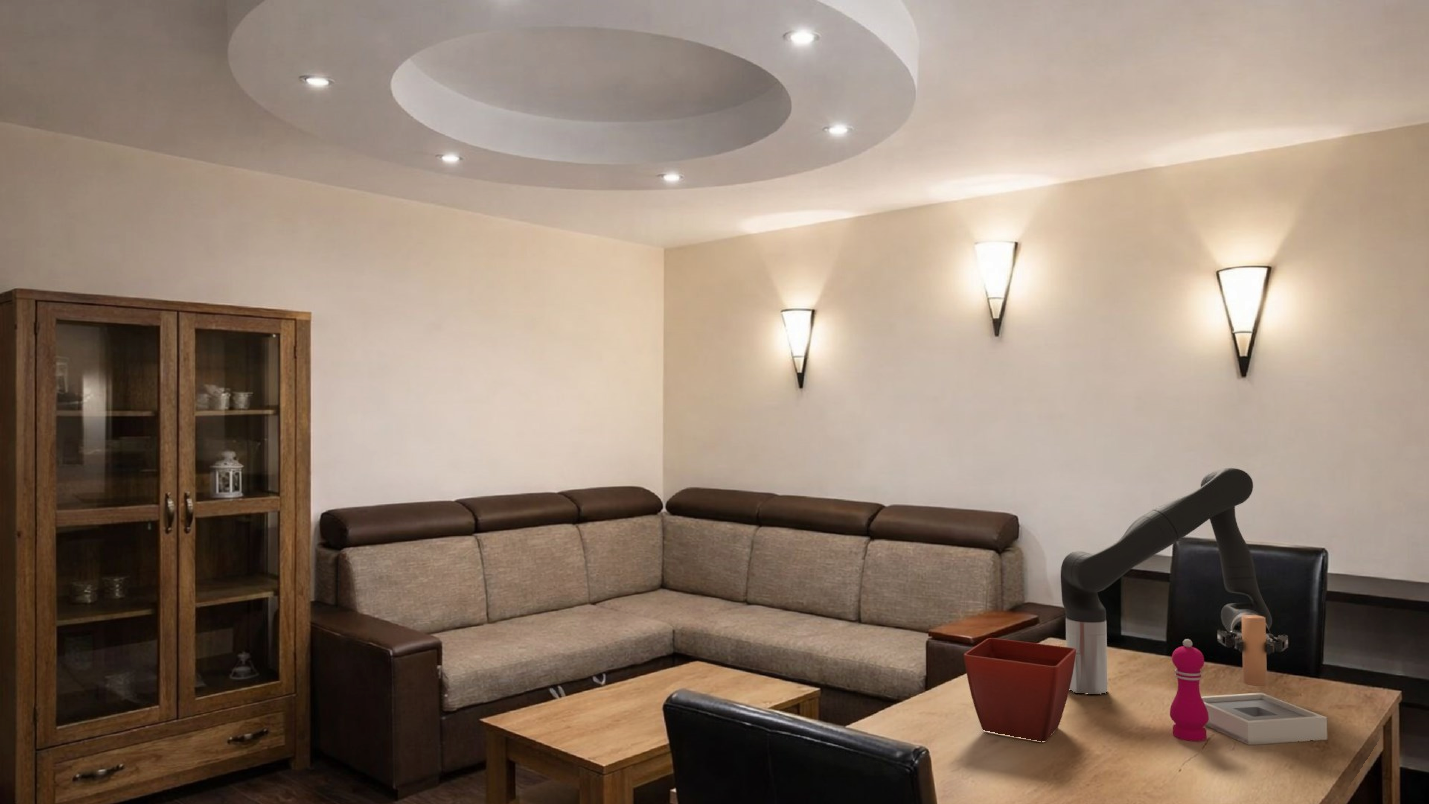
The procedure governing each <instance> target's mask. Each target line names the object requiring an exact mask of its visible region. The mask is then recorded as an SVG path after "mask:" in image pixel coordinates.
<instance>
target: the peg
mask: <svg viewBox="0 0 1429 804" xmlns="http://www.w3.org/2000/svg"><path fill="white" fill-rule="evenodd" d="M1242 640H1243V652H1241V653H1242V683H1243V684H1246V685H1249V686H1252V687H1253V686H1255V687H1266V686H1268V675H1267V672H1268V671H1267V664H1268V663H1267V654H1266V623H1265V617H1262V616H1257V615H1242Z"/></svg>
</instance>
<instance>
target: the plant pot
mask: <svg viewBox="0 0 1429 804" xmlns="http://www.w3.org/2000/svg"><path fill="white" fill-rule="evenodd" d="M1075 656H1076V649H1075V648H1069V647H1066V646H1060V645H1051V644H1045V643H1044V644H1042V643H1036V642H1028V641H1020V640H1012V639H1011V640H1010V639H1004V638H995V637H989V638H986V639H984V640H983V641H982V642H980V643H978V644H977V645H976V646H974V647H972V648H970V649H969V650H968V651H966V652H964V654H963V658H964V659H963V660H964V666H965V673H966V676H967V681H968V687H969V692H970V695H971V699H972V703H973V706H974V708H975V712H976V715H977V719H978V722H979V724H980V726H981V729H983V730H985V731H990V732H995V733H998V734H1005V735H1010V736H1014V737H1021V738H1026V739H1031V740H1037V741H1041V742H1042V741H1046V740H1047V739H1048V738H1049V739H1050V737H1051V736H1052V735H1053V734H1054V733H1055V732H1056V731H1057V729H1058V728H1059V725H1060V723H1061V720H1062V717H1063V714H1064V711H1065V708H1066V704H1067V702H1068V701H1067V700H1068V696H1069V692H1070V690H1069V689H1070V684H1071V680H1072V675H1073V669H1074V663H1075ZM983 730H982V731H983ZM1055 730H1056V731H1055ZM1054 731H1055V732H1054ZM1053 732H1054V733H1053ZM1051 734H1052V735H1051ZM1049 739H1048V740H1049ZM1048 740H1047V741H1048ZM1047 741H1046V742H1047Z"/></svg>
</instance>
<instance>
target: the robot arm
mask: <svg viewBox="0 0 1429 804" xmlns="http://www.w3.org/2000/svg"><path fill="white" fill-rule="evenodd" d="M1253 490H1254V482H1253V479H1252V477H1251V475H1250V474H1249V473H1248V472H1246V471H1245V470H1243V469H1240V468H1234V467H1229V468H1228V467H1227V468H1222V469H1218V470H1215V471H1212V472H1210V473H1208V474H1206V475H1205V476H1204V477H1203V478H1202V480H1201V482H1200V487H1199V488H1197V489H1196V490H1194V491H1192V492H1190V493H1188V494H1185V495H1184V496H1181V497H1178V498H1175V499H1173V500H1170V501H1167V502H1166V503H1163V504H1161V505H1159V506H1158V507H1155V508H1153V509H1152V510H1150V511H1148V512H1147V513H1145V514H1144V515H1142V516H1140V517H1138V518H1137V519H1136V520H1134V521H1133V522H1132V523H1131V525H1130V526H1128V528H1127V529H1126V531H1125V532H1124V534H1123V535H1122V537H1121V538H1119V540H1117V541H1116V542H1115V543H1113V544H1111V545H1110V546H1107V547H1105V548H1104V549H1102V550H1099V551H1098V552H1096V553H1089V552H1087V551H1086V552H1085V551H1081V550H1080V551H1079V550H1076V551H1072V552H1070V553H1069V554H1067V555H1066V556H1065V557H1064V558H1063V561H1062V563H1061V566H1060V588H1061V589H1060V590H1061V600H1062V601H1061V602H1062V606H1063V608H1064V611H1065V647H1069V648H1075V649H1076V656H1075V663H1074V669H1073V675H1072V680H1071V684H1070V690H1072V691H1074V692H1075V693H1088V694H1100V693H1105V694H1107V693H1108V692H1107V691H1108V683H1109V682H1108V644H1107V643H1108V642H1107V641H1108V640H1107V639H1108V637H1107V632H1108V631H1107V610H1106V607H1105V606H1104V605H1103V603H1102V602H1101V600H1100V598H1099V595H1098V593H1099V592H1102V591H1104V590H1105V589H1107V588H1109V587H1110V586H1111V585H1112V584H1114V583H1115V582H1116V581H1117V580H1119V579H1120V578H1121V577H1123V576H1124V575H1125V574H1126V573H1128V572H1129V571H1130V570H1132V569H1133V568H1135V567H1136V566H1139V565H1140V564H1142V563H1143V562H1145V561H1147V560H1149V559H1150V558H1151V557H1153V556H1155V555H1157V554H1158V553H1160V552H1162V551H1164V550H1166V549H1167V548H1169V547H1171V546H1172V545H1173V544H1176V543H1177V542H1179V541H1180V540H1181V539H1184V537H1187V536H1188V535H1189V534H1190V533H1192V532H1194V531H1195V530H1196V529H1198V528H1199V527H1200V526H1202V525H1203V524H1205V523H1206V522H1208V520H1209V522H1210V524H1211V527H1212V530H1213V534H1214V538H1215V542H1216V545H1217V549H1218V553H1219V560H1220V565H1221V572H1222V577H1223V584H1224V588H1225V590H1226V591H1227V592H1228V593H1233V594H1240V595H1244V596H1247V597H1249V599H1250V601H1251V602H1236V603H1235V602H1234V603H1232V602H1231V603H1227V604H1226V605H1224V606H1223V607H1222V609H1221V612H1220V619H1221V623H1222V625H1223V626H1224V628H1225V630H1226V631H1225V630H1222V629H1218V630H1217V642H1218V643H1219V644H1221V645H1222V646H1224V647H1226V648H1232V647H1233V646H1234V649H1236V650H1239V651H1238V652H1240V653H1242V652H1243V640H1242V615H1257V616H1262V617H1265V623H1266V655H1271V653H1274V652H1275V651H1276V652H1279V653H1281V652H1284V651H1285V650H1286V649H1288V648H1289V636H1288V635H1287V634H1281V635H1277V637H1276V636H1274V634H1272V633H1271V631H1270V628H1271V627H1272V624H1273V618H1272V615H1271V612H1270V610H1269V608H1268V606H1267V605H1266V603H1265V600H1264V599H1263V597H1262V594H1261V591H1260V588H1259V585H1258V580H1257V575H1256V570H1255V563H1254V559H1253V556H1252V553H1251V551H1250V548H1249V547H1248V545H1247V542H1246V541H1245V539H1244V537H1243V535H1242V533H1241V531H1240V528H1239V526H1238V522H1237V518H1236V506H1239V505H1241V504H1243V503H1245V502H1246V501H1247V500H1249V499H1250V496H1251V495H1252V494H1253ZM1070 690H1069V691H1070ZM1072 691H1071V692H1072ZM1074 692H1073V693H1074ZM1106 692H1107V693H1106ZM1075 693H1074V694H1075ZM1100 695H1101V694H1100Z"/></svg>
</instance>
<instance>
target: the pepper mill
mask: <svg viewBox="0 0 1429 804" xmlns="http://www.w3.org/2000/svg"><path fill="white" fill-rule="evenodd" d="M1182 645H1183V646H1179V647H1177V648H1176V649H1175V650H1173V651H1172V655H1171V661H1172V663H1173V665H1174V666H1175V667H1176V668H1175V669H1174V672H1175V673H1174V676H1175V678H1176V679H1177V690H1176V693H1175V696H1174V698H1173V700H1172V702H1171V705H1170V708H1169V717H1170V719H1171V720H1172V721H1173V722H1174V724H1173V725H1172V735H1173V736H1174V737H1175V738H1177V739H1179V740H1184V741H1189V742H1203V741H1206V740H1207V729H1206V728H1205V727H1206V724H1207V722H1208V720H1209V716H1208V711H1207V708H1206V706H1205V704H1204V702H1203V700H1202V698H1201V696H1202V695H1201V691H1200V680H1202V679H1203V676H1202V674H1203V673H1202V671H1201V670H1202V668H1203V667H1204V666H1205V657H1204V655H1203V653H1202V652H1201V651H1200V650H1199V649H1198V648H1196V647H1193V642H1192V640H1191V639H1189V638H1185V639H1184V640H1183V641H1182Z"/></svg>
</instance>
